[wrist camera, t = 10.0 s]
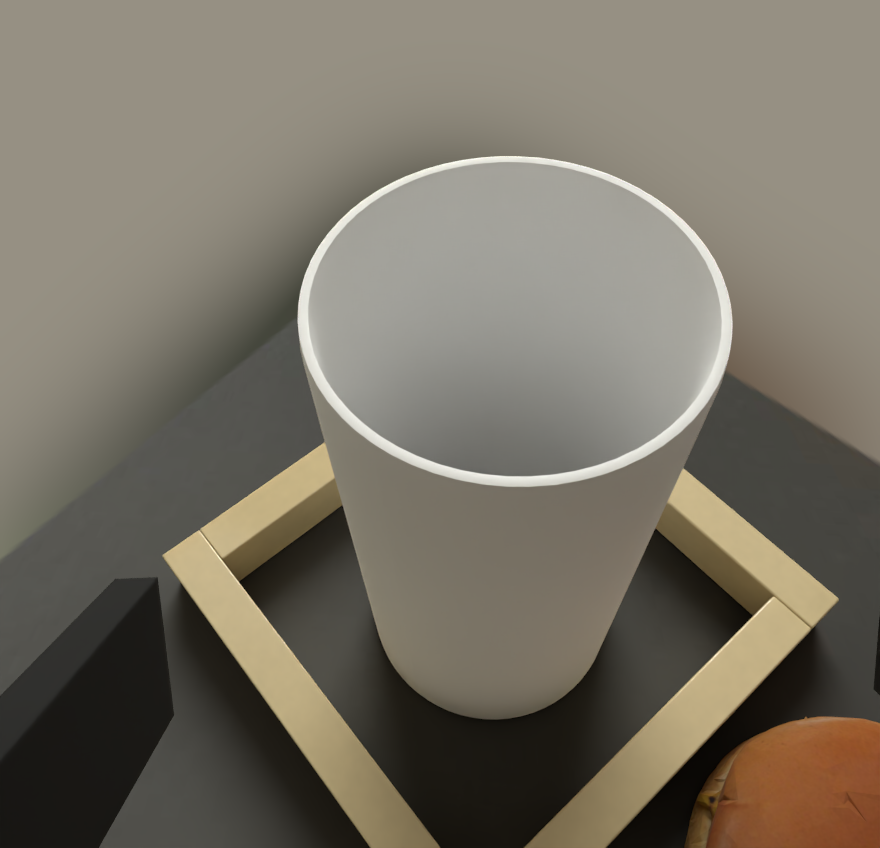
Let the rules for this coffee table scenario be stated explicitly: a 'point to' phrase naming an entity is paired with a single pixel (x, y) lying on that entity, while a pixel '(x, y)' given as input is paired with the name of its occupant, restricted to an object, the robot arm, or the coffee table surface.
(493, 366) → the cup
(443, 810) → the coffee table surface
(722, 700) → the square frame
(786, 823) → the burger
